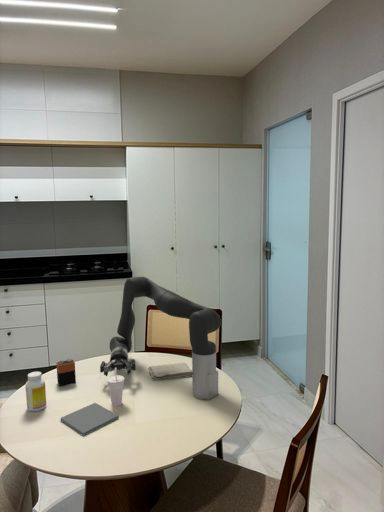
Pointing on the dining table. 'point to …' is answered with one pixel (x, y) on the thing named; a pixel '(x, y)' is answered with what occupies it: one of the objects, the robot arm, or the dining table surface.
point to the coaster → (89, 418)
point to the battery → (66, 372)
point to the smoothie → (116, 388)
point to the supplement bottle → (35, 392)
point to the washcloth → (169, 371)
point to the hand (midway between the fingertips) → (117, 373)
